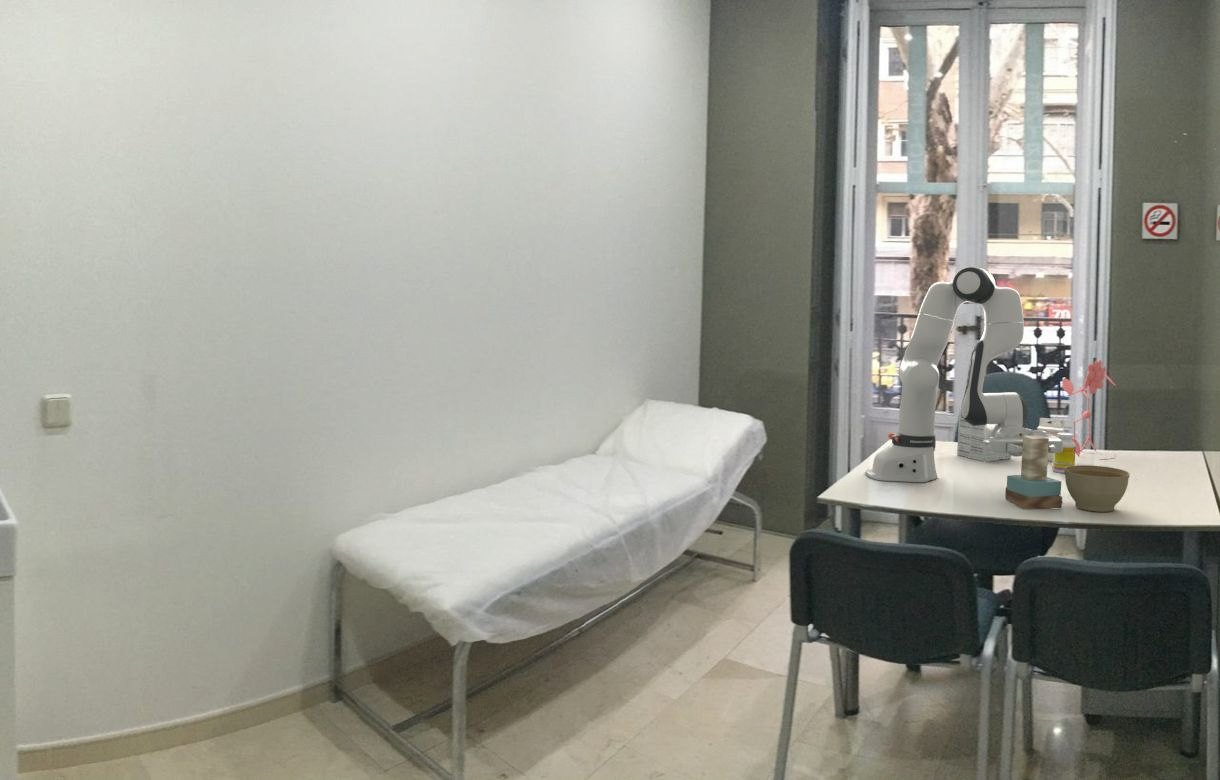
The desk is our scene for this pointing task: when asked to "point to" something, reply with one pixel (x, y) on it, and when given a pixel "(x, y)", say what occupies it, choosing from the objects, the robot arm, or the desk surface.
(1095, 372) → the pink flower sculpture
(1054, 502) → the walnut base block
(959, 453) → the supplement box
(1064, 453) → the supplement bottle
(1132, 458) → the desk surface
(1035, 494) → the teal top block
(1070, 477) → the planter bowl
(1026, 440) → the ash pillar block
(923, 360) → the robot arm
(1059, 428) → the ink cartridge box
